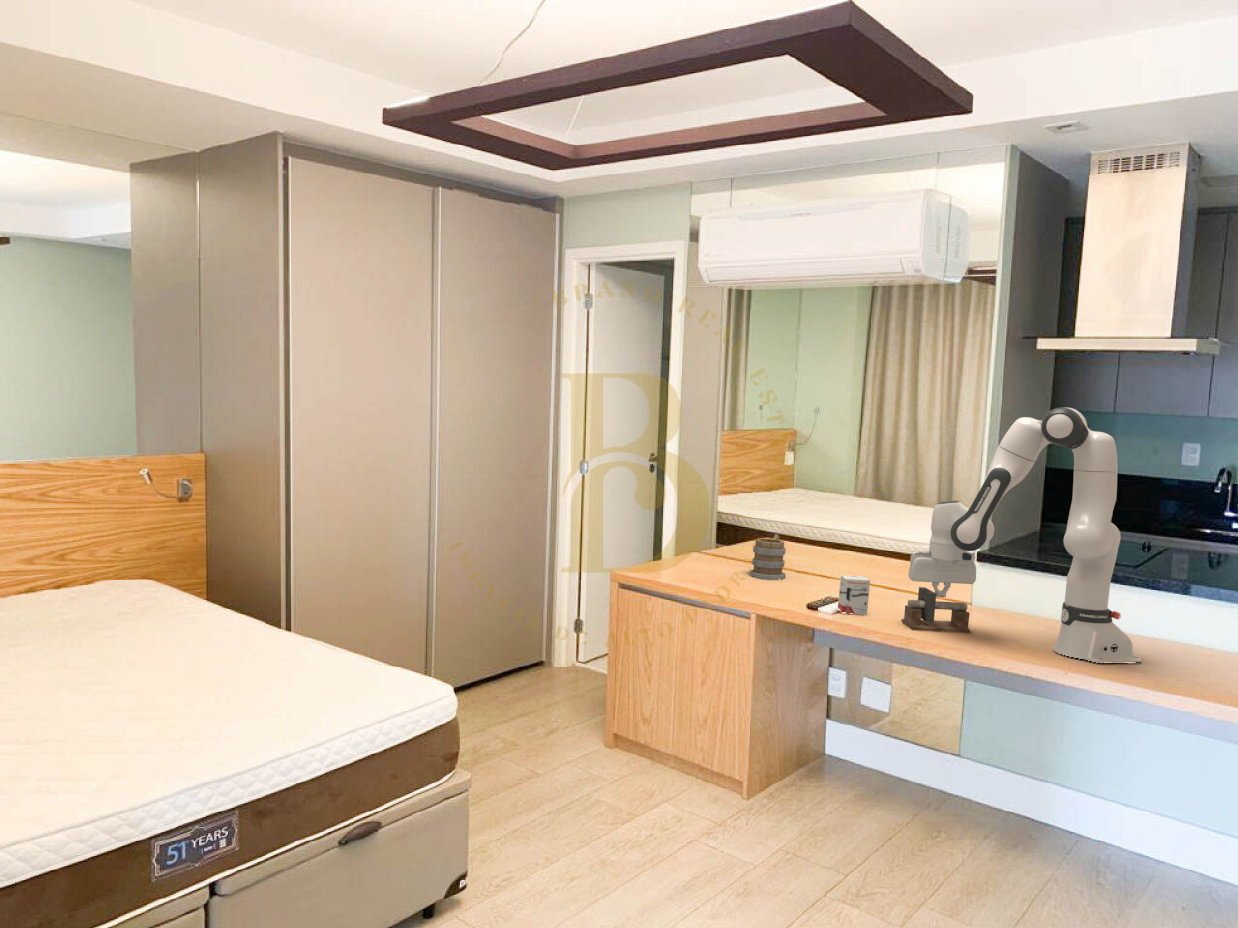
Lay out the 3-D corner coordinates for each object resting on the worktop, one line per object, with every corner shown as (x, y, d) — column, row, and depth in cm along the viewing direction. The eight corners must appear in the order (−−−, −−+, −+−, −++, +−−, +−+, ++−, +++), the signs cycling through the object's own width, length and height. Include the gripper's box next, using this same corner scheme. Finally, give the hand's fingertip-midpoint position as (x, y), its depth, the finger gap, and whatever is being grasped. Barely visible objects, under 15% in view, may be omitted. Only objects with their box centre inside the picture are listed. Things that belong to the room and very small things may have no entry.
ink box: (841, 614, 296) (844, 577, 295) (837, 610, 301) (840, 574, 300) (867, 615, 297) (870, 579, 296) (862, 611, 302) (866, 576, 301)
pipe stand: (957, 624, 292) (959, 598, 291) (970, 632, 282) (973, 606, 281) (901, 621, 291) (903, 595, 290) (912, 630, 281) (915, 603, 280)
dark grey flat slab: (922, 615, 290) (925, 587, 290) (933, 622, 281) (936, 593, 281) (916, 615, 290) (918, 587, 290) (927, 622, 281) (929, 593, 281)
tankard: (779, 581, 343) (782, 541, 342) (746, 576, 349) (749, 537, 348) (792, 573, 361) (795, 535, 360) (761, 569, 367) (764, 531, 366)
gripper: (914, 552, 281) (911, 597, 282) (980, 555, 282) (976, 600, 283) (907, 549, 287) (903, 592, 288) (971, 552, 288) (967, 595, 289)
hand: (940, 596), depth 285 cm, fingers closed
